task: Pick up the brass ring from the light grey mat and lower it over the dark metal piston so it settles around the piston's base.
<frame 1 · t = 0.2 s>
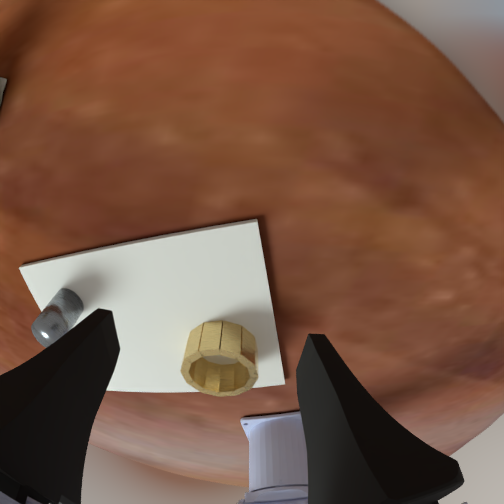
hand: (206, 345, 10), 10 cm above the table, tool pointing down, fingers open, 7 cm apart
mat: (147, 330, 23), on the table
ring: (221, 346, 23), resting on mat
piston: (72, 298, 21), resting on mat
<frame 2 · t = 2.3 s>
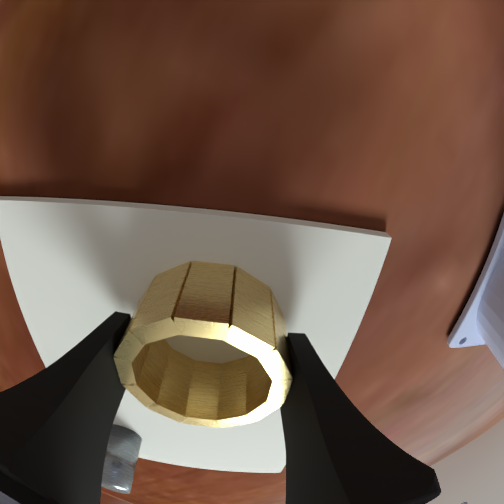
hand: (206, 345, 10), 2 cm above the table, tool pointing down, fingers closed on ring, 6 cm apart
mat: (171, 394, 14), on the table
ring: (209, 325, 11), resting on mat, touching gripper
piston: (124, 428, 17), resting on mat
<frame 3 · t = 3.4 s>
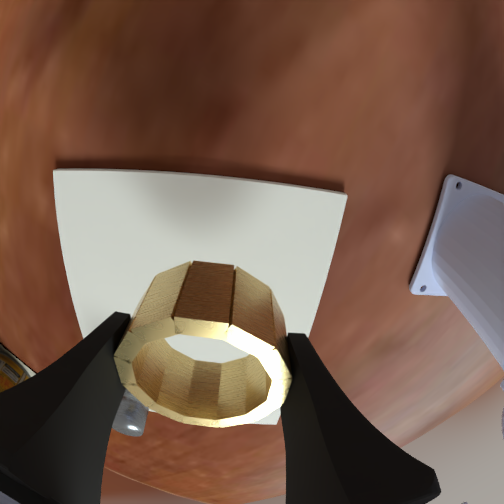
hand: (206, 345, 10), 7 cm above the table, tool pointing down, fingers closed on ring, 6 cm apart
mat: (185, 333, 19), on the table
ring: (209, 325, 11), point 6 cm above the table, touching gripper
condiment: (9, 363, 23), on the table
piston: (139, 377, 21), resting on mat
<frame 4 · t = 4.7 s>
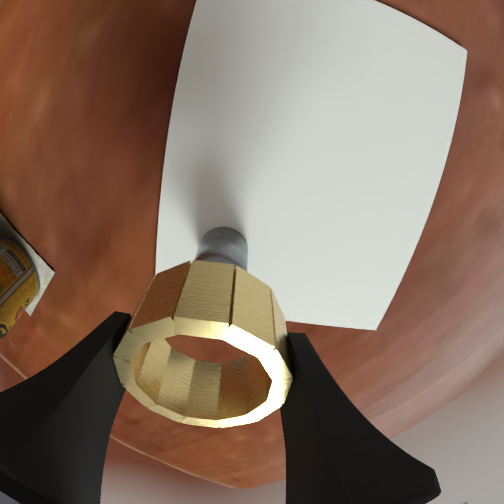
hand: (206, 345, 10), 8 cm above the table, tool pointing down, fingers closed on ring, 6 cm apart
mat: (316, 160, 15), on the table
ring: (209, 324, 11), point 7 cm above the table, touching gripper
condiment: (11, 260, 18), on the table
piston: (224, 245, 18), resting on mat
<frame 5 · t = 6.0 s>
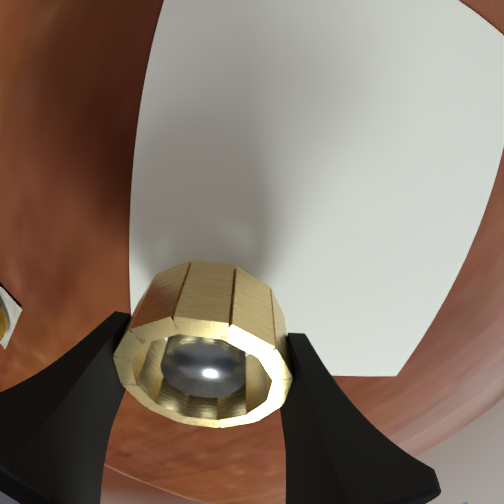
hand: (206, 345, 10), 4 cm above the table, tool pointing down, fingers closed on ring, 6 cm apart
mat: (339, 180, 11), on the table
ring: (209, 324, 11), point 3 cm above the table, touching gripper
piston: (216, 289, 13), resting on mat
when the fingers open (4 cm above the table, at t = 7.0 s): ring drops 2 cm, resting on mat.
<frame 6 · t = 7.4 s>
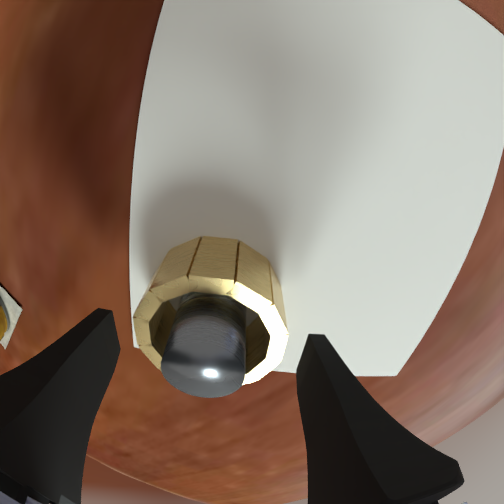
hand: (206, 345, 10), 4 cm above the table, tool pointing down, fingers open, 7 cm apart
mat: (339, 180, 11), on the table
ring: (216, 295, 13), resting on mat
piston: (216, 289, 13), resting on mat
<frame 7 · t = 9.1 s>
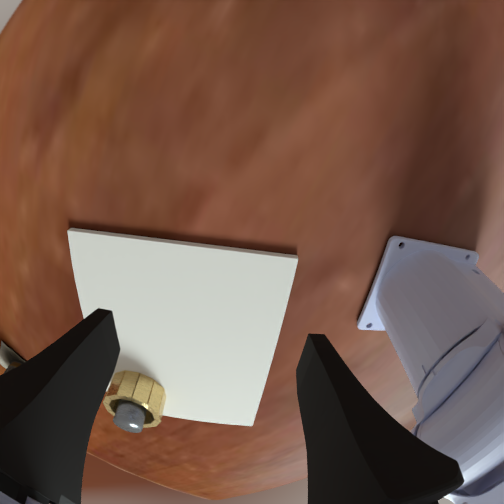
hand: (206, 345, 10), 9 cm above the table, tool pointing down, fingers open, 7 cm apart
mat: (175, 353, 23), on the table
ring: (138, 388, 25), resting on mat
condiment: (24, 370, 27), on the table
piston: (139, 385, 26), resting on mat
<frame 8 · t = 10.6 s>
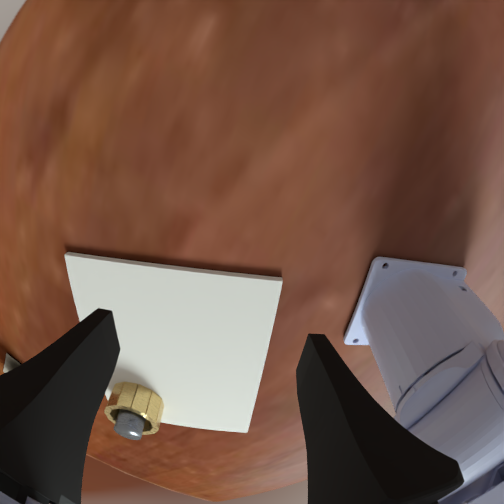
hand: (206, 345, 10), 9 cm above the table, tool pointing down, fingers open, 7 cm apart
mat: (171, 366, 24), on the table
ring: (137, 398, 26), resting on mat
piston: (138, 394, 27), resting on mat
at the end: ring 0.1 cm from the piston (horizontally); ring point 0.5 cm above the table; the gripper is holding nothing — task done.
